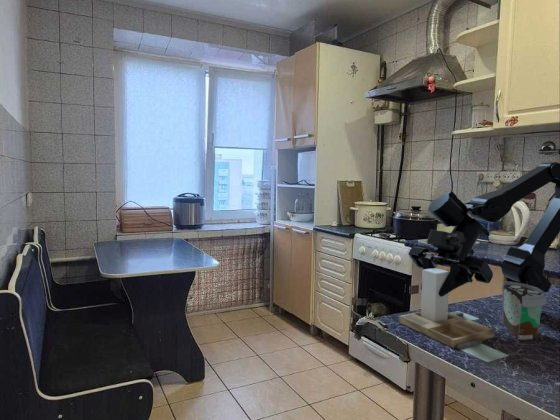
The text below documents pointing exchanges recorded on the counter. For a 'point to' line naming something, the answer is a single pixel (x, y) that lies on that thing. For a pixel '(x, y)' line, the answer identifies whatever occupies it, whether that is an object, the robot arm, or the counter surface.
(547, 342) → the counter surface
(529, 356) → the counter surface
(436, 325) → the puzzle board
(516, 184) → the robot arm
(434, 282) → the tall white block
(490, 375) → the counter surface
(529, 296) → the food container
